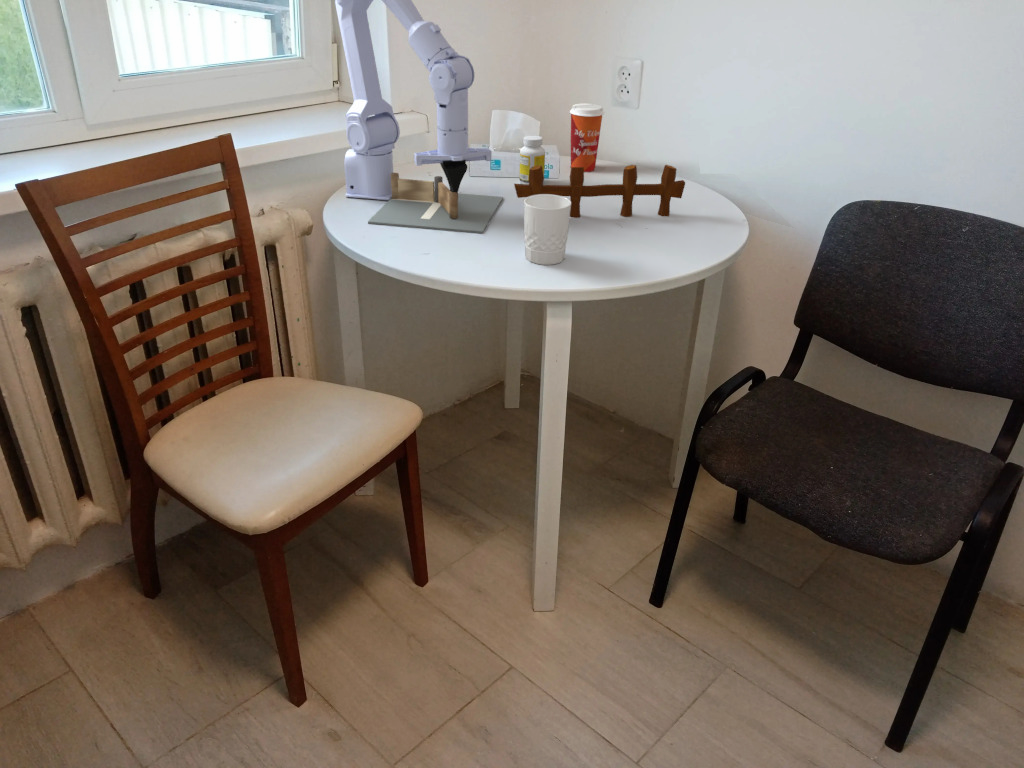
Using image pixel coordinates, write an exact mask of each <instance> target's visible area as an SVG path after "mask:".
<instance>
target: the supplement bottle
mask: <svg viewBox="0 0 1024 768" xmlns="http://www.w3.org/2000/svg"><path fill="white" fill-rule="evenodd" d="M523 144H524V145H523V146H522V147H521V148H520V150H519V151H520V152H519V184H528V185H529V169H530V168H531V167H534V166H537V165H539V166H542V169H543V176H544V177H545V163H546V160H545V159H546V151H545V148H544V147H542V145H543V137H542V136H539V135H525V136H524V137H523ZM544 182H545V179H544V180H543V184H544Z"/></svg>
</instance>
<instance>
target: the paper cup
mask: <svg viewBox="0 0 1024 768" xmlns="http://www.w3.org/2000/svg"><path fill="white" fill-rule="evenodd" d="M569 113H570V168H571V167H584V173H591V172H594V171H596V170H595V169H596V164H597V159H598V158H597V157H598V149H599V144H600V143H599V142H600V135H601V128H602V120H603V115H604V114H605V112H604V108H603V107H602V105H600V104H594V103H586V102H585V103H576V104H573V105H572V106H571V109H570V110H569Z"/></svg>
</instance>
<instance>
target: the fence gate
mask: <svg viewBox="0 0 1024 768" xmlns="http://www.w3.org/2000/svg"><path fill="white" fill-rule="evenodd" d="M458 193H459V192H458ZM458 193H456V192H451V191H450V188H449V187H447V186H446V184H445V183H442V182H439V183H438V201H439V203H440V204H441V206H442V207H443V208H444V209H445V210H446V211H447V212H448V213H449V215H450V218H458Z"/></svg>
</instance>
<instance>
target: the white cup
mask: <svg viewBox="0 0 1024 768" xmlns="http://www.w3.org/2000/svg"><path fill="white" fill-rule="evenodd" d="M570 211H571V201H570V199H569V198H567V197H566V196H558V195H551V194H539V195H532V196H529V197H524V200H523V226H524V227H523V231H524V233H523V234H524V246H525V248H524V250H525V251H524V253H525V258H526V260H527V261H528V262H530V263H531V264H532V263H533V264H536V265H544V266H545V265H546V266H550V265H556V264H559V263H562V262H563V261H564V260H565V257H566V256H565V255H566V245H567V243H568V242H567V241H568V234H569V230H570V229H569V228H570V219H571V217H570Z"/></svg>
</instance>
